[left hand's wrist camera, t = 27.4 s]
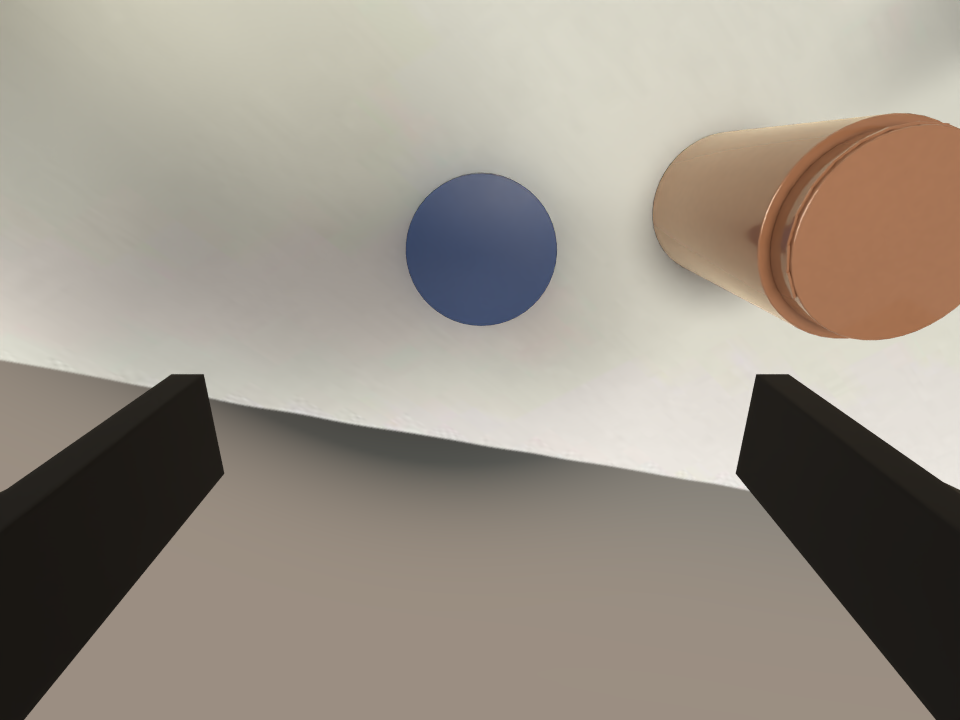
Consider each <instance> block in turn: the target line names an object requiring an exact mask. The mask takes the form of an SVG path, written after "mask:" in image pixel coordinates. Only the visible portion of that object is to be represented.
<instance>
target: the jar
mask: <svg viewBox="0 0 960 720" xmlns="http://www.w3.org/2000/svg"><path fill="white" fill-rule="evenodd" d="M653 224H654V229H655V233H656V236H657V239H658V241H659V243H660V245H661V247H662V248H663V250H664V251H665V253H666V254H667V255H668V256H669V257H670V258H671V259H672V260H673V261H674V262H676V263H677V264H679V265H680V266H682V267H684V268H686V269H687V270H689V271H691V272H693V273H695V274H697V275H699V276H701V277H702V278H704V279H706V280H708V281H710V282H712V283H714V284H716V285H718V286H719V287H721V288H723V289H725V290H727V291H729V292H731V293H733V294H734V295H736V296H738V297H740V298H742V299H744V300H746V301H748V302H749V303H751V304H753V305H755V306H757V307H759V308H761V309H763V310H765V311H766V312H768V313H770V314H772V315H774V316H776V317H778V318H780V319H781V320H783V321H785V322H787V323H789V324H791V325H793V326H795V327H796V328H798V329H801V330H803V331H805V332H807V333H810V334H814V335H817V336H821V337H828V338H852V339H859V340H882V339H890V338H895V337H899V336H903V335H906V334H909V333H912V332H915V331H918V330H920V329H922V328H924V327H926V326H928V325H931V324H932V323H934V322H936V321H937V320H939V319H941V318H943V317H944V316H945V315H947V314H948V313H950V312H951V311H952V310H954V309H955V308H956V307H957V306H959V305H960V129H959V128H957V127H954V126H952V125H949V123H942V122H940V121H938V120H936V119H933V118H930V117H927V116H923V115H917V114H911V113H891V114H882V115H873V116H864V117H855V118H846V119H837V120H828V121H819V122H810V123H801V124H792V125H783V126H774V127H765V128H756V129H747V130H738V131H729V132H722V133H717V134H713V135H710V136H707V137H705V138H703V139H700V140H699V141H697V142H695V143H693V144H692V145H690V146H689V147H688V148H686V149H685V150H684V151H683V152H682V153H681V154H679V155H678V156H677V157H676V159H675V160H674V161H673V162H672V163H671V164H670V166H669V167H668V169H667V170H666V172H665V173H664V175H663V177H662V179H661V181H660V183H659V186H658V188H657V191H656V195H655V199H654V205H653Z"/></svg>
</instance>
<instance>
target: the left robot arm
mask: <svg viewBox="0 0 960 720" xmlns="http://www.w3.org/2000/svg"><path fill="white" fill-rule="evenodd" d="M223 474H224V470H223V465H222V461H221V456H220V451H219V446H218V441H217V436H216V431H215V426H214V422H213V417H212V412H211V407H210V403H209V398H208V393H207V388H206V383H205V378H204V374H171V375H170V376H168V377H167V378H166V379H164V380H163V381H161V382H160V383H158V384H157V385H155V386H154V387H153V388H151V389H150V390H148V391H147V392H145V393H144V394H143V395H141V396H140V397H138V398H137V399H135V400H134V401H133V402H131V403H130V404H128V405H127V406H125V407H124V408H123V409H121V410H120V411H118V412H117V413H115V414H114V415H112V416H111V417H110V418H108V419H107V420H105V421H104V422H103V423H101V424H100V425H98V426H97V427H95V428H94V429H92V430H91V431H90V432H88V433H87V434H85V435H84V436H82V437H81V438H80V439H78V440H77V441H75V442H74V443H72V444H71V445H69V446H68V447H67V448H65V449H64V450H62V451H61V452H59V453H58V454H57V455H55V456H54V457H52V458H51V459H49V460H48V461H47V462H45V463H44V464H42V465H41V466H39V467H38V468H37V469H35V470H34V471H32V472H31V473H29V474H28V475H26V476H25V477H24V478H22V479H21V480H19V481H18V482H16V483H15V484H14V485H12V486H11V487H9V488H8V489H6V490H4V491H2V492H0V720H24V719H25V718H26V717H27V715H28V714H29V713H30V712H31V710H32V709H33V708H34V707H35V705H36V704H37V703H38V702H39V701H40V699H41V698H42V697H43V696H44V694H45V693H46V692H47V691H48V690H49V688H50V687H51V686H52V685H53V683H54V682H55V681H56V680H57V679H58V677H59V676H60V675H61V674H62V672H63V671H64V670H65V669H66V667H67V666H68V665H69V664H70V663H71V661H72V660H73V659H74V658H75V656H76V655H77V654H78V653H79V651H80V650H81V649H82V648H83V647H84V645H85V644H86V643H87V642H88V640H89V639H90V638H91V637H92V635H93V634H94V633H95V632H96V631H97V629H98V628H99V627H100V626H101V624H102V623H103V622H104V621H105V620H106V618H107V617H108V616H109V615H110V613H111V612H112V611H113V610H114V608H115V607H116V606H117V605H118V604H119V602H120V601H121V600H122V599H123V597H124V596H125V595H126V594H127V592H128V591H129V590H130V589H131V588H132V586H133V585H134V584H135V583H136V581H137V580H138V579H139V578H140V576H141V575H142V574H143V573H144V572H145V570H146V569H147V568H148V567H149V565H150V564H151V563H152V562H153V561H154V559H155V558H156V557H157V556H158V554H159V553H160V552H161V551H162V549H163V548H164V547H165V546H166V545H167V543H168V542H169V541H170V540H171V538H172V537H173V536H174V535H175V533H176V532H177V531H178V530H179V529H180V527H181V526H182V525H183V524H184V522H185V521H186V520H187V519H188V517H189V516H190V515H191V514H192V513H193V511H194V510H195V509H196V508H197V506H198V505H199V504H200V503H201V501H202V500H203V499H204V498H205V497H206V495H207V494H208V493H209V492H210V490H211V489H212V488H213V487H214V485H215V484H216V483H217V482H218V481H219V479H220V478H221V477H222V476H223ZM736 474H737V476H738V477H739V478H740V479H741V481H742V482H743V483H744V484H745V486H746V487H747V488H748V489H749V490H750V492H751V493H752V494H753V495H754V497H755V498H756V499H757V500H758V501H759V503H760V504H761V505H762V506H763V508H764V509H765V510H766V511H767V513H768V514H769V515H770V516H771V517H772V519H773V520H774V521H775V522H776V524H777V525H778V526H779V527H780V529H781V530H782V531H783V532H784V533H785V535H786V536H787V537H788V538H789V540H790V541H791V542H792V543H793V545H794V546H795V547H796V548H797V549H798V551H799V552H800V553H801V554H802V556H803V557H804V558H805V559H806V560H807V562H808V563H809V564H810V565H811V567H812V568H813V569H814V570H815V572H816V573H817V574H818V575H819V576H820V578H821V579H822V580H823V581H824V583H825V584H826V585H827V586H828V588H829V589H830V590H831V591H832V592H833V594H834V595H835V596H836V597H837V599H838V600H839V601H840V602H841V604H842V605H843V606H844V607H845V608H846V610H847V611H848V612H849V613H850V615H851V616H852V617H853V618H854V620H855V621H856V622H857V623H858V624H859V626H860V627H861V628H862V629H863V631H864V632H865V633H866V634H867V635H868V637H869V638H870V639H871V640H872V642H873V643H874V644H875V645H876V647H877V648H878V649H879V650H880V651H881V653H882V654H883V655H884V656H885V658H886V659H887V660H888V661H889V663H890V664H891V665H892V666H893V667H894V669H895V670H896V671H897V672H898V674H899V675H900V676H901V677H902V679H903V680H904V681H905V682H906V683H907V685H908V686H909V687H910V688H911V690H912V691H913V692H914V693H915V694H916V696H917V697H918V698H919V699H920V701H921V702H922V703H923V704H924V705H925V707H926V708H927V709H928V710H929V712H930V713H931V714H932V715H933V717H934V718H935V719H936V720H960V490H959V489H957V488H955V487H952V486H950V485H948V484H946V483H944V482H942V481H941V480H939V479H938V478H936V477H935V476H934V475H932V474H931V473H929V472H928V471H926V470H925V469H924V468H922V467H921V466H919V465H918V464H916V463H915V462H913V461H912V460H911V459H909V458H908V457H906V456H905V455H903V454H902V453H901V452H899V451H898V450H896V449H895V448H893V447H892V446H891V445H889V444H888V443H886V442H885V441H883V440H882V439H880V438H879V437H878V436H876V435H875V434H873V433H872V432H870V431H869V430H868V429H866V428H865V427H863V426H862V425H860V424H859V423H858V422H856V421H855V420H853V419H852V418H850V417H849V416H848V415H846V414H845V413H843V412H842V411H840V410H839V409H837V408H836V407H835V406H833V405H832V404H830V403H829V402H827V401H826V400H825V399H823V398H822V397H820V396H819V395H817V394H816V393H815V392H813V391H812V390H810V389H809V388H807V387H806V386H805V385H803V384H802V383H800V382H799V381H797V380H796V379H794V378H793V377H792V376H790V375H789V374H756V378H755V383H754V388H753V393H752V398H751V402H750V407H749V412H748V417H747V422H746V426H745V431H744V436H743V441H742V446H741V451H740V455H739V460H738V465H737V470H736Z"/></svg>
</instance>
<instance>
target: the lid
mask: <svg viewBox="0 0 960 720" xmlns="http://www.w3.org/2000/svg"><path fill="white" fill-rule="evenodd" d="M556 256H557V243H556V236H555V231H554V228H553V224H552V222H551V219H550V217H549V215H548V213H547V211H546V210H545V208H544V206H543V205H542V204H541V203H540V201H539V200H538V199H537V198H536V197H535V196H534V195H533V194H532V193H531V192H530V191H529V190H527V189H526V188H525V187H523V186H522V185H520V184H519V183H517V182H515V181H513V180H511V179H509V178H506V177H503V176H500V175H496V174H490V173H472V174H467V175H462V176H459V177H457V178H454V179H452V180H450V181H448V182H446V183H444V184H442V185H441V186H440V187H438V188H437V189H435V190H434V191H433V192H432V193H431V194H430V195H429V196H428V197H426V199H425V200H424V201H423V202H422V204H421V205H420V206H419V208H418V209H417V211H416V213H415V214H414V217H413V219H412V221H411V224H410V227H409V230H408V234H407V241H406V258H407V265H408V269H409V273H410V276H411V278H412V281H413V283H414V285H415V287H416V288H417V290H418V292H419V293H420V294H421V296H422V297H423V299H424V300H425V301H426V302H427V303H428V304H429V305H430V306H431V307H432V308H434V309H435V310H436V311H437V312H439V313H440V314H442V315H444V316H445V317H447V318H449V319H452V320H454V321H457V322H460V323H463V324H468V325H477V326H485V325H494V324H499V323H503V322H506V321H509V320H511V319H513V318H515V317H517V316H519V315H521V314H522V313H524V312H525V311H527V310H528V309H529V308H530V307H531V306H533V305H534V303H535V302H536V301H537V300H538V299H539V298H540V297H541V295H542V294H543V293H544V291H545V290H546V288H547V286H548V284H549V282H550V280H551V277H552V275H553V272H554V268H555V264H556Z"/></svg>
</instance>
